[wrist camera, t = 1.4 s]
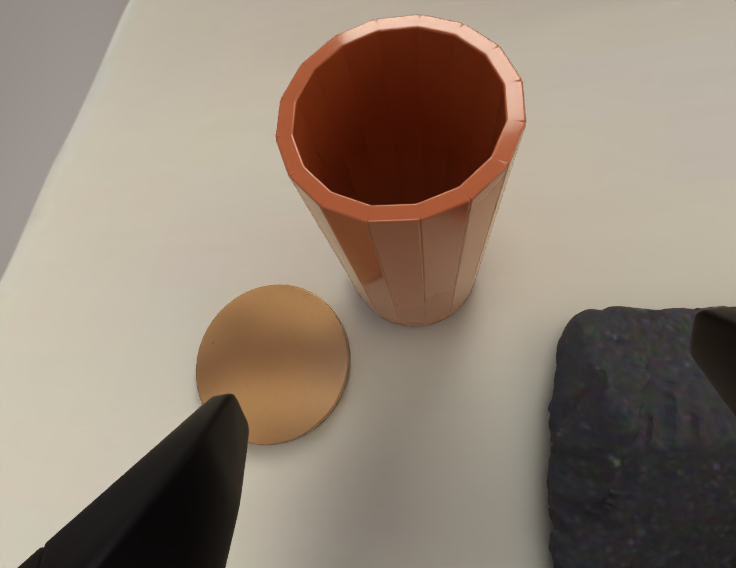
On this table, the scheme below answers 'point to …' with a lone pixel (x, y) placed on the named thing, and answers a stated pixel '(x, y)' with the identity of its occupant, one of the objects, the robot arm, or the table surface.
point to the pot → (404, 156)
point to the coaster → (276, 361)
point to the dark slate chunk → (638, 447)
